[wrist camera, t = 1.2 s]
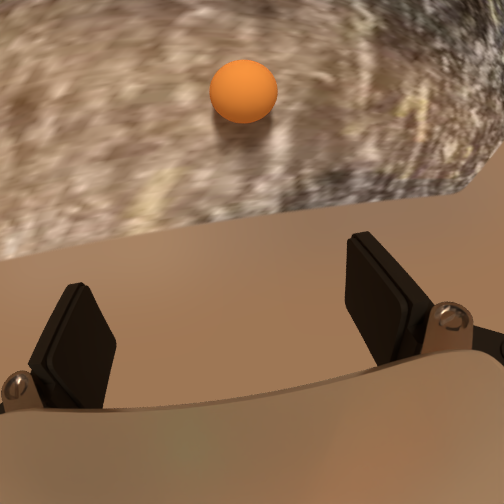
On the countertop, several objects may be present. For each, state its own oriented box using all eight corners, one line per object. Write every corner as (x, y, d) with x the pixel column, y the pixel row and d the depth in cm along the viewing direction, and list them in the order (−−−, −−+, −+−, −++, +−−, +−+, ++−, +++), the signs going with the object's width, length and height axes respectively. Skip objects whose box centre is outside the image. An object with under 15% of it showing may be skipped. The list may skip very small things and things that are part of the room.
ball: (206, 118, 29) (208, 126, 23) (210, 60, 26) (213, 54, 21) (266, 121, 30) (281, 129, 25) (272, 65, 27) (288, 61, 22)
